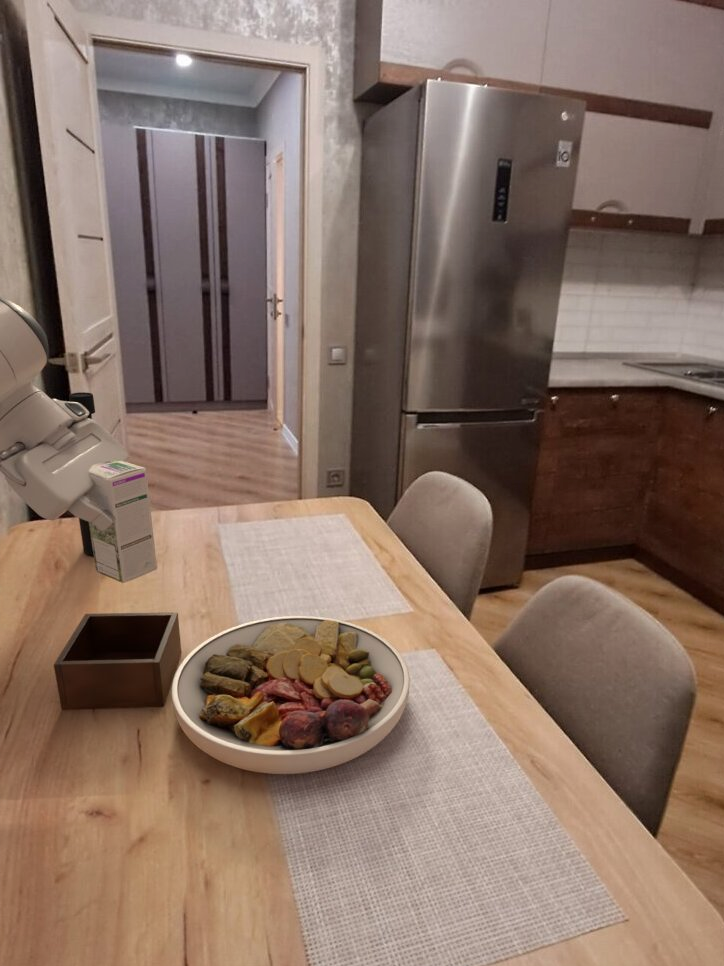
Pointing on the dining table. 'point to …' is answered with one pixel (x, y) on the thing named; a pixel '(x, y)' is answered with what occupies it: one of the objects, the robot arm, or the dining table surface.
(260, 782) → the dining table surface
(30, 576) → the dining table surface
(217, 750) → the bowl
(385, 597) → the dining table surface
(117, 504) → the syrup box
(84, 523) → the black water bottle
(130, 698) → the box
